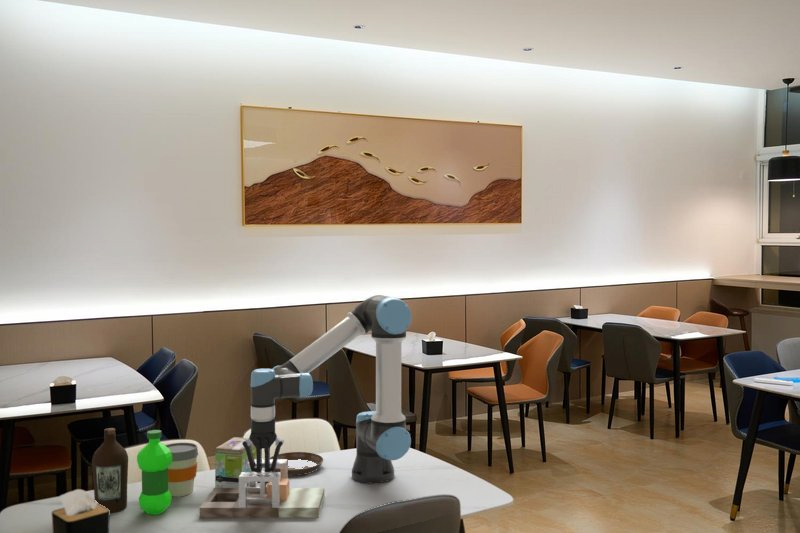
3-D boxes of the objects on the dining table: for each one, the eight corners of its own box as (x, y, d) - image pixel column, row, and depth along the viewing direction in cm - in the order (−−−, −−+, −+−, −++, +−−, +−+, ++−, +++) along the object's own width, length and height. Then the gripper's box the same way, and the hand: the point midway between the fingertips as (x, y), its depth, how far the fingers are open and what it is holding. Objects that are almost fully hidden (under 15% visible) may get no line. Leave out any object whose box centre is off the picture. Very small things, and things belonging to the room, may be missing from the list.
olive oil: (95, 503, 242) (94, 426, 241) (131, 500, 244) (129, 424, 243) (90, 515, 231) (88, 434, 230) (126, 512, 234) (125, 432, 233)
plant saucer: (320, 477, 268) (319, 468, 268) (261, 477, 268) (261, 468, 268) (326, 460, 289) (326, 451, 288) (272, 460, 289) (272, 451, 289)
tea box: (242, 493, 251) (242, 449, 250) (214, 491, 253) (213, 447, 252) (259, 479, 266) (259, 437, 265) (233, 477, 268) (232, 436, 267)
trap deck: (324, 497, 247) (324, 487, 247) (318, 517, 229) (318, 507, 229) (214, 497, 247) (214, 488, 247) (199, 517, 229) (199, 507, 229)
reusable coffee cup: (206, 488, 256) (205, 444, 255) (181, 500, 244) (180, 454, 244) (177, 483, 261) (176, 440, 260) (151, 495, 249) (150, 450, 249)
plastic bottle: (139, 519, 228) (138, 437, 227) (137, 508, 237) (135, 429, 236) (174, 514, 232) (173, 434, 231) (170, 503, 241) (169, 426, 240)
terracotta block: (289, 494, 241) (289, 478, 241) (286, 500, 235) (286, 484, 235) (270, 494, 241) (270, 478, 241) (267, 500, 235) (267, 484, 235)
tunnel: (287, 487, 247) (287, 459, 247) (278, 507, 229) (278, 476, 229) (250, 487, 247) (250, 459, 247) (239, 507, 229) (238, 476, 229)
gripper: (285, 416, 241) (285, 489, 242) (244, 415, 241) (245, 489, 242) (281, 421, 234) (282, 497, 234) (239, 421, 234) (240, 497, 235)
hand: (263, 493), depth 238 cm, fingers closed
